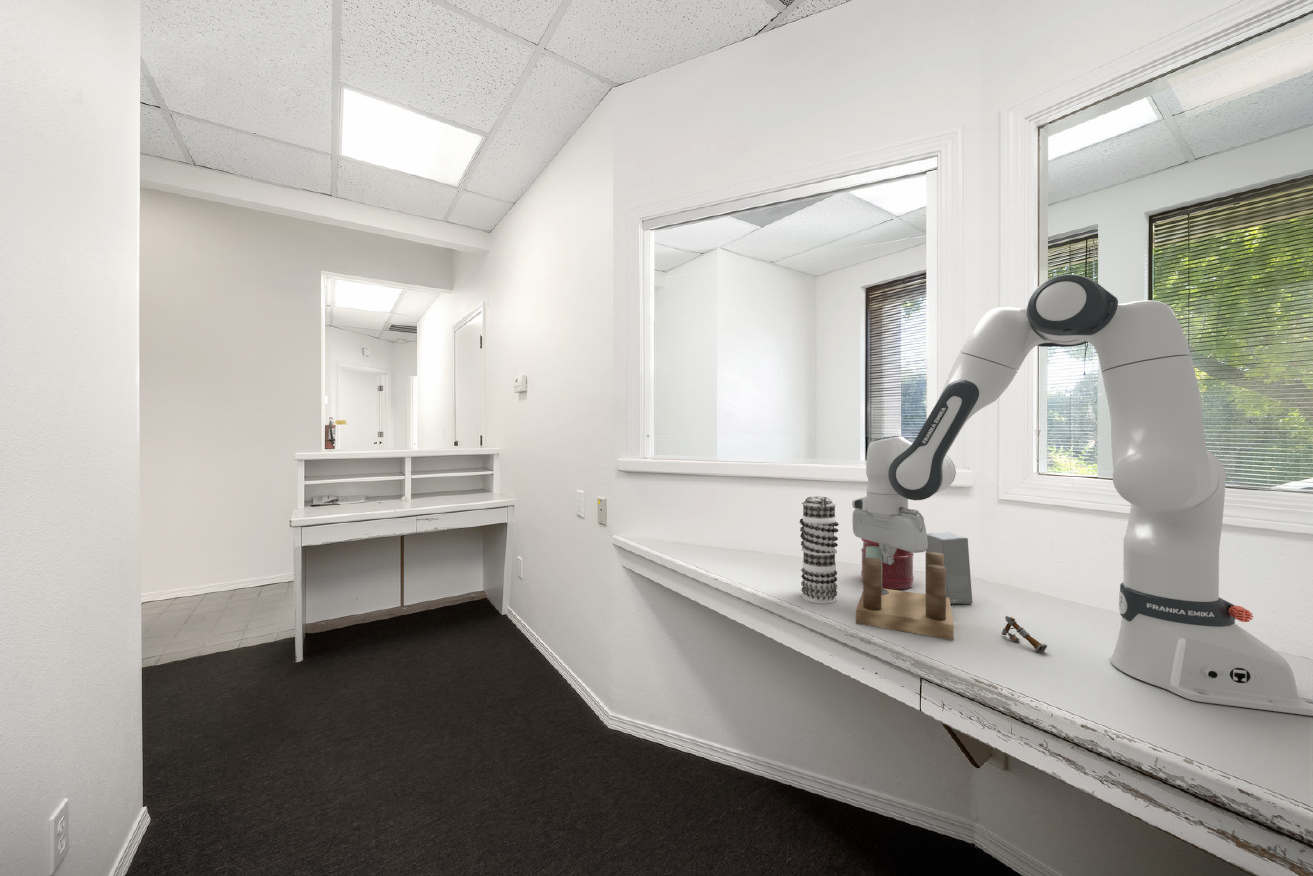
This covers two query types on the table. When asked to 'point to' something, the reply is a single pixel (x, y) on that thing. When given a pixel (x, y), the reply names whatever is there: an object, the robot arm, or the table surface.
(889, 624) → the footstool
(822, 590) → the decorative candle
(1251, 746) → the table surface
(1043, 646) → the wooden post with brackets
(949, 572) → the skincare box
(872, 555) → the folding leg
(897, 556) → the canister
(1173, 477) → the robot arm
